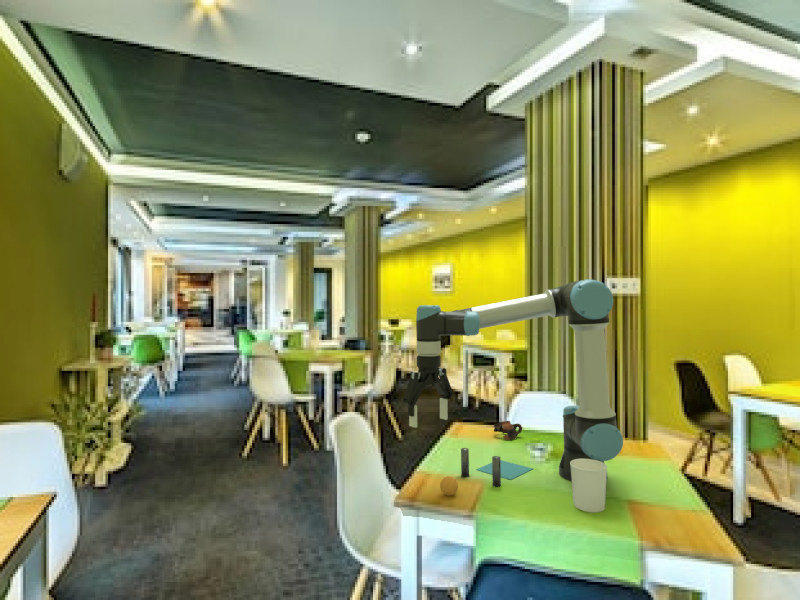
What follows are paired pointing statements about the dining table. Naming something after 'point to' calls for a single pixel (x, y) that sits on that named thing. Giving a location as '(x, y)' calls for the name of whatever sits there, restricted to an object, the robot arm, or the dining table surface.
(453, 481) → the ball
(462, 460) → the left post
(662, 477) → the dining table surface
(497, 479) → the right post
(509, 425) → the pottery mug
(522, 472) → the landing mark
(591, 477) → the candle holder
